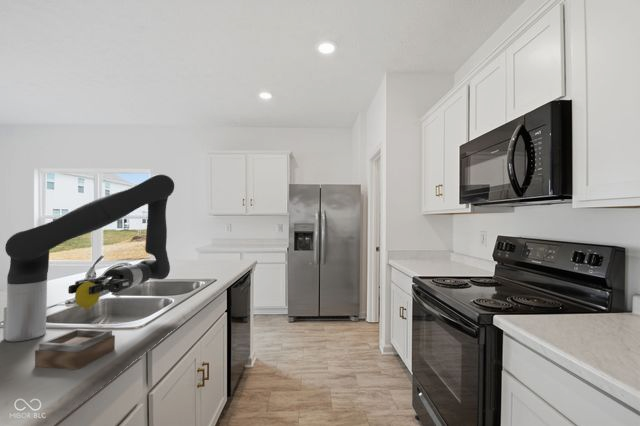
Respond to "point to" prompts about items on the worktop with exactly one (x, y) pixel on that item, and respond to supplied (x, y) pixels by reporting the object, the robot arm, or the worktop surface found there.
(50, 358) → the square wooden box
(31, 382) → the worktop surface
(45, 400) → the worktop surface
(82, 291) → the lemon
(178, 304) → the worktop surface
